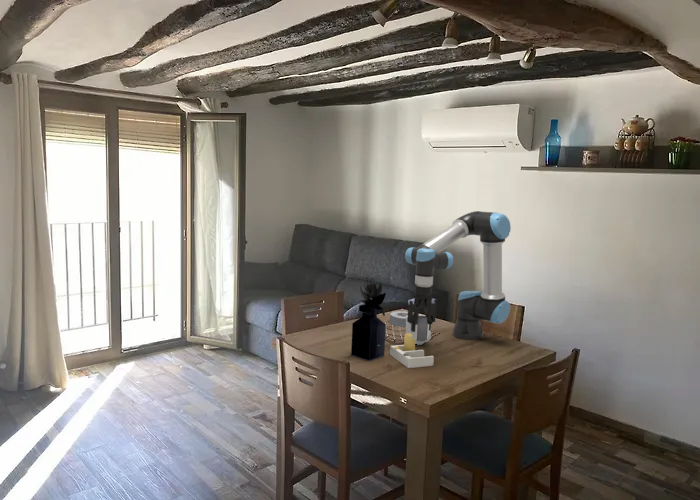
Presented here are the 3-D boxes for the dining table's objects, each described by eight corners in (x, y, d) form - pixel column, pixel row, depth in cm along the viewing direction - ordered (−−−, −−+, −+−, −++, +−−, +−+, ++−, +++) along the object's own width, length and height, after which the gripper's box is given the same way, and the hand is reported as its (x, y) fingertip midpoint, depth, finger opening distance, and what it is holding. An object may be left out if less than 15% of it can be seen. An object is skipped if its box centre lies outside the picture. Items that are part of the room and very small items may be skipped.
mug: (438, 347, 259) (439, 320, 257) (420, 350, 253) (421, 323, 251) (417, 338, 271) (419, 313, 269) (400, 341, 265) (401, 315, 263)
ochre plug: (411, 354, 247) (412, 332, 246) (416, 357, 242) (417, 336, 241) (401, 355, 245) (402, 333, 244) (406, 358, 240) (407, 336, 239)
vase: (391, 357, 242) (395, 279, 237) (374, 362, 233) (378, 282, 229) (366, 349, 251) (370, 274, 247) (350, 354, 243) (353, 277, 238)
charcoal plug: (422, 337, 237) (423, 315, 236) (428, 340, 233) (429, 318, 231) (412, 338, 235) (413, 315, 234) (417, 341, 231) (419, 318, 229)
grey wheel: (423, 324, 299) (423, 315, 298) (406, 329, 288) (406, 319, 287) (401, 318, 309) (401, 309, 309) (383, 322, 298) (384, 313, 298)
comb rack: (413, 352, 250) (414, 342, 249) (433, 365, 233) (433, 355, 232) (389, 354, 245) (390, 344, 245) (408, 368, 229) (408, 357, 228)
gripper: (437, 282, 238) (434, 334, 241) (400, 284, 231) (397, 337, 234) (446, 286, 231) (442, 339, 234) (408, 287, 224) (405, 342, 227)
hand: (420, 338), depth 234 cm, fingers closed on charcoal plug, 5 cm apart
